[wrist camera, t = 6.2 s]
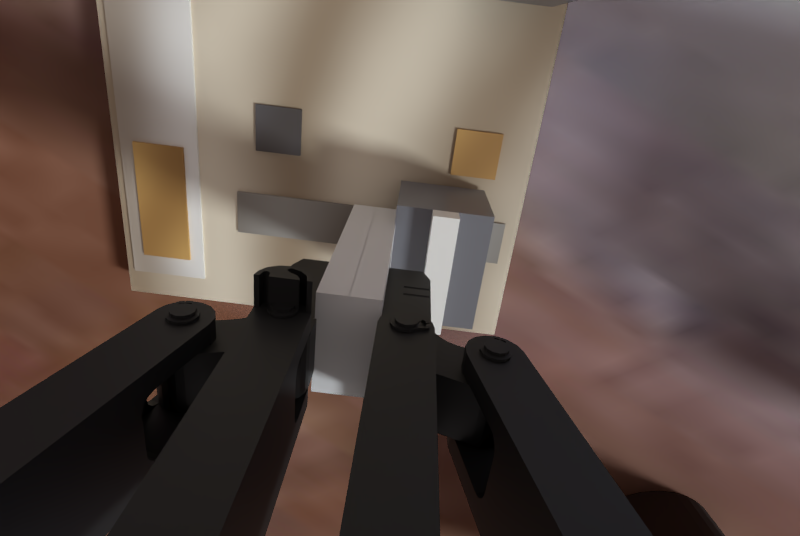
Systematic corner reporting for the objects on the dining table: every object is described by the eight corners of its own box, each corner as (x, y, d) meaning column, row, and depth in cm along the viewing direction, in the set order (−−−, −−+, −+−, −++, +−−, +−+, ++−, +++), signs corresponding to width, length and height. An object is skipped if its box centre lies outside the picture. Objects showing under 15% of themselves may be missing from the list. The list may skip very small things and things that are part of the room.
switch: (389, 280, 20) (382, 327, 16) (401, 180, 18) (395, 211, 15) (465, 289, 20) (473, 338, 16) (484, 190, 18) (497, 224, 15)
